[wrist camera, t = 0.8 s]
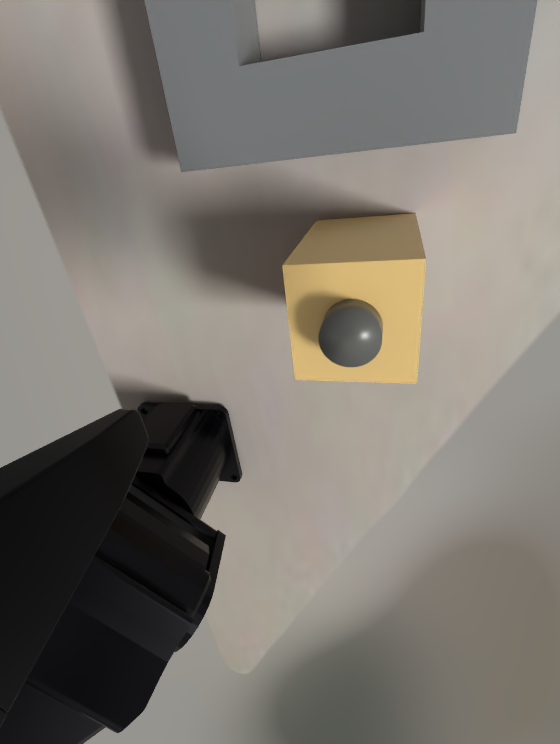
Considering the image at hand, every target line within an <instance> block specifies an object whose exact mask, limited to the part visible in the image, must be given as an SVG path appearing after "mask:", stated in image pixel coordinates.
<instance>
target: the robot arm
mask: <svg viewBox="0 0 560 744" xmlns="http://www.w3.org/2000/svg"><path fill="white" fill-rule="evenodd" d="M145 409H146V410H145ZM218 413H221V414H222V415H220V414H218ZM241 477H242V471H241V467H240V462H239V458H238V453H237V449H236V444H235V440H234V435H233V431H232V427H231V422H230V418H229V413H228V411H227V409H226V408H224V407H222V406H209V405H192V404H174V403H151V402H143V403H142V404H141V405H140V406H139V407H138V411H137V410H135V409H119V410H117V411H115V412H112V413H110V414H108V415H106V416H104V417H102V418H100V419H98V420H96V421H94V422H92V423H90V424H88V425H86V426H84V427H82V428H80V429H78V430H76V431H74V432H72V433H70V434H68V435H66V436H64V437H62V438H60V439H58V440H56V441H54V442H52V443H50V444H48V445H46V446H44V447H42V448H40V449H38V450H35V451H33V452H31V453H29V454H28V455H25V456H23V457H22V458H19V459H17V460H15V461H13V462H11V463H9V464H7V465H5V466H3V467H1V468H0V744H83V743H84V742H86V741H87V740H89V739H90V738H91V737H93V736H94V735H96V734H97V733H98V732H100V731H101V730H102V729H104V728H105V727H107V728H108V729H110V730H112V731H114V732H116V733H119V732H121V731H123V730H124V729H125V728H126V727H127V726H128V725H129V724H130V723H131V722H132V721H133V720H135V719H136V718H137V717H138V716H139V715H140V714H141V713H142V712H143V711H144V709H145V707H146V706H147V703H148V701H149V699H150V697H151V695H152V693H153V691H154V689H155V687H156V685H157V683H158V681H159V679H160V677H161V675H162V673H163V671H164V669H165V667H166V665H167V663H168V661H169V659H170V658H171V656H172V654H173V653H174V652H176V651H178V650H179V649H181V648H182V647H183V646H184V645H185V644H186V643H187V642H188V640H189V639H190V638H191V637H192V635H193V634H194V632H195V630H196V629H197V628H198V626H199V624H200V623H201V621H202V619H203V617H204V615H205V613H206V611H207V609H208V607H209V604H210V601H211V599H212V596H213V592H214V588H215V583H216V579H217V574H218V569H219V565H220V560H221V555H222V551H223V546H224V541H225V537H226V535H225V534H223V533H222V532H220V531H219V530H217V531H216V530H214V529H213V528H212V527H210V526H209V525H207V524H206V523H204V522H203V521H201V520H200V519H201V517H202V515H203V513H204V511H205V508H206V506H207V504H208V502H209V500H210V498H211V496H212V494H213V492H214V490H215V488H216V486H217V484H218V482H219V481H228V482H239V481H240V479H241Z"/></svg>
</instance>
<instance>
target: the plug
mask: <svg viewBox="0 0 560 744" xmlns="http://www.w3.org/2000/svg"><path fill="white" fill-rule="evenodd" d="M425 265H426V257H425V253H424V248H423V244H422V239H421V235H420V231H419V226H418V222H417V218H416V213H411V214H397V215H384V216H370V217H357V218H343V219H330V220H317V221H316V222H315V223H314V224H313V226H312V227H311V228H310V230H309V231H308V232H307V234H306V235H305V236H304V238H303V239H302V240H301V241H300V243H299V244H298V245H297V247H296V248H295V249H294V251H293V252H292V253H291V255H290V256H289V257H288V258H287V260H286V261H285V262H284V264H283V265H282V268H283V277H284V286H285V295H286V304H287V313H288V322H289V330H290V339H291V348H292V357H293V366H294V375H295V380H318V381H350V382H382V383H414V384H417V377H418V363H419V349H420V335H421V321H422V307H423V293H424V279H425Z"/></svg>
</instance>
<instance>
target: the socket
mask: <svg viewBox="0 0 560 744" xmlns="http://www.w3.org/2000/svg"><path fill="white" fill-rule="evenodd" d="M144 2H145V6H146V11H147V15H148V20H149V25H150V29H151V34H152V39H153V43H154V48H155V52H156V57H157V62H158V66H159V71H160V76H161V80H162V85H163V89H164V94H165V99H166V103H167V108H168V113H169V117H170V122H171V126H172V131H173V136H174V140H175V145H176V150H177V154H178V159H179V163H180V168H181V172H186V171H194V170H203V169H212V168H220V167H229V166H237V165H246V164H255V163H263V162H272V161H280V160H289V159H298V158H306V157H315V156H323V155H332V154H341V153H349V152H358V151H366V150H375V149H383V148H392V147H401V146H409V145H418V144H426V143H435V142H444V141H452V140H461V139H469V138H478V137H487V136H495V135H504V134H512V133H516V130H517V123H518V117H519V111H520V105H521V98H522V92H523V86H524V80H525V74H526V67H527V61H528V55H529V49H530V42H531V36H532V30H533V24H534V17H535V11H536V5H537V0H421V16H420V33H415V34H410V35H404V36H399V37H394V38H388V39H383V40H377V41H372V42H367V43H361V44H356V45H350V46H345V47H340V48H334V49H329V50H323V51H318V52H313V53H307V54H302V55H296V56H291V57H286V58H280V59H275V60H269V61H264V62H261V54H260V45H259V36H258V27H257V18H256V9H255V0H144Z"/></svg>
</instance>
